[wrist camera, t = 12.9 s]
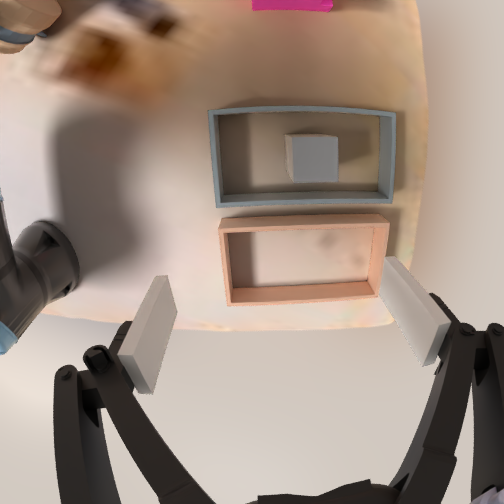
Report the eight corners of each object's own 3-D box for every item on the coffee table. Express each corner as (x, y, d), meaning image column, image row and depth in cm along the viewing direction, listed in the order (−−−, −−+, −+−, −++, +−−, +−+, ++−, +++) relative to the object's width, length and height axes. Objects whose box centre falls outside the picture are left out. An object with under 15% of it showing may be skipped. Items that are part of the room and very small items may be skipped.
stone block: (286, 170, 37) (293, 183, 30) (284, 134, 35) (291, 137, 28) (322, 169, 37) (338, 181, 30) (321, 133, 35) (337, 137, 28)
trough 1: (219, 199, 39) (216, 207, 35) (212, 111, 34) (207, 110, 30) (380, 195, 38) (392, 203, 35) (383, 112, 33) (395, 112, 29)
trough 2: (229, 291, 46) (227, 306, 42) (221, 218, 40) (218, 228, 37) (369, 283, 45) (377, 297, 41) (379, 213, 39) (390, 223, 36)
